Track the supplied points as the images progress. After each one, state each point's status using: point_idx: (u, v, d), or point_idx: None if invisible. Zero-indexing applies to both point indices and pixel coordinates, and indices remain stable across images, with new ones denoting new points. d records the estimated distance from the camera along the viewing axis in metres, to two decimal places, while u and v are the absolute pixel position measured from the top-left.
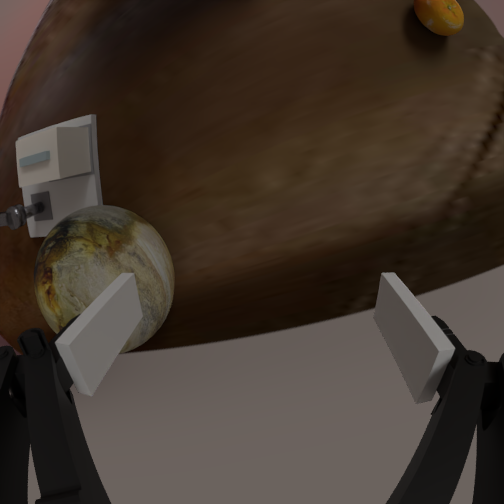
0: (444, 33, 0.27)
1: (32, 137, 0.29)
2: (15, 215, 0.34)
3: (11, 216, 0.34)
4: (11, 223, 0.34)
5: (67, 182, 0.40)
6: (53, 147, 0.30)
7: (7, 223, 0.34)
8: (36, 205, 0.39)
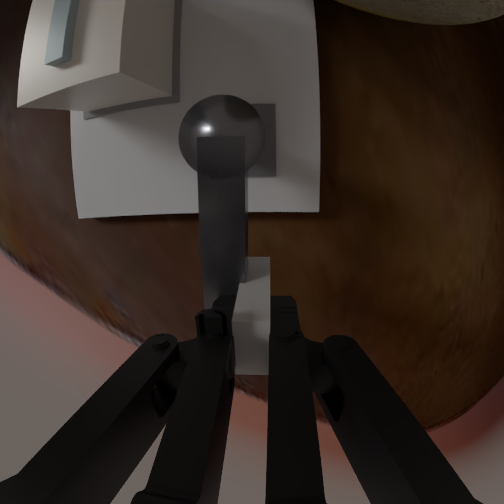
0: None
1: (26, 42, 0.09)
2: (211, 110, 0.11)
3: (212, 137, 0.11)
4: (239, 145, 0.11)
5: (189, 49, 0.17)
6: None
7: (238, 173, 0.12)
8: None
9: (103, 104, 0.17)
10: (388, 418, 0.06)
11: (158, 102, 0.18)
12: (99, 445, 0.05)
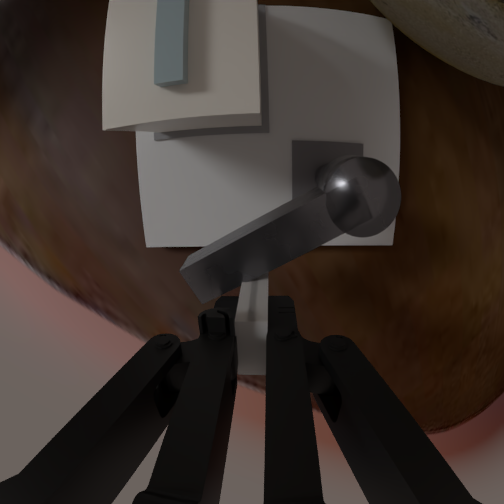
0: None
1: (110, 48, 0.10)
2: (382, 179, 0.12)
3: (361, 191, 0.12)
4: (364, 217, 0.12)
5: (277, 76, 0.17)
6: None
7: (340, 228, 0.13)
8: None
9: (186, 128, 0.17)
10: (386, 418, 0.06)
11: (246, 131, 0.18)
12: (101, 445, 0.05)
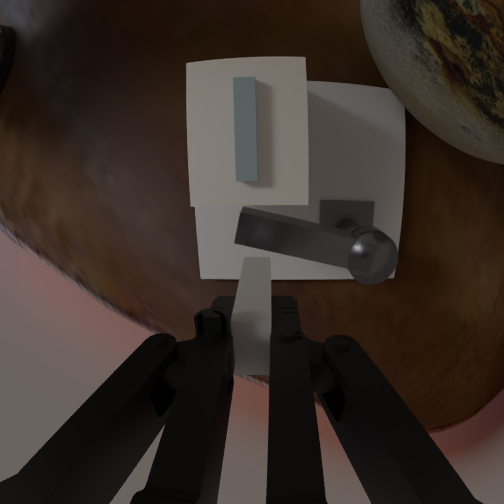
0: None
1: (192, 139, 0.16)
2: (390, 257, 0.18)
3: (374, 255, 0.18)
4: (364, 269, 0.18)
5: (310, 147, 0.23)
6: (229, 69, 0.15)
7: (348, 264, 0.18)
8: None
9: None
10: (389, 418, 0.06)
11: None
12: (98, 445, 0.05)
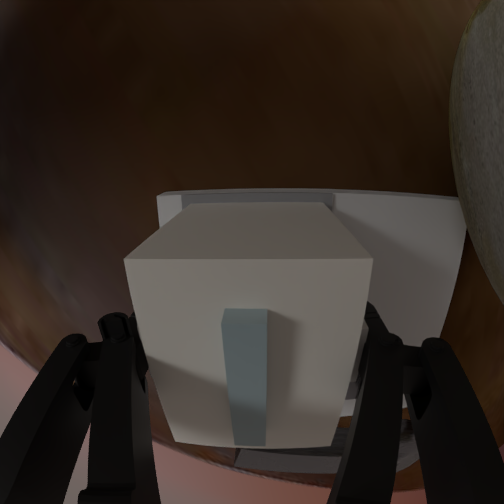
0: None
1: (163, 384, 0.10)
2: (413, 456, 0.12)
3: None
4: None
5: None
6: (211, 284, 0.08)
7: None
8: None
9: None
10: (466, 418, 0.05)
11: None
12: (39, 438, 0.05)
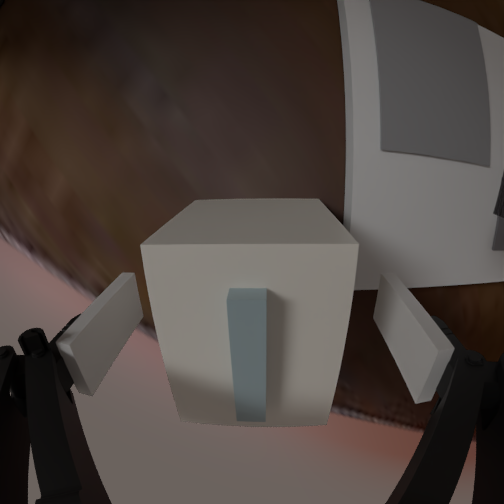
0: None
1: (171, 362, 0.11)
2: None
3: None
4: None
5: (494, 106, 0.12)
6: (218, 266, 0.09)
7: None
8: None
9: None
10: None
11: (474, 160, 0.13)
12: None
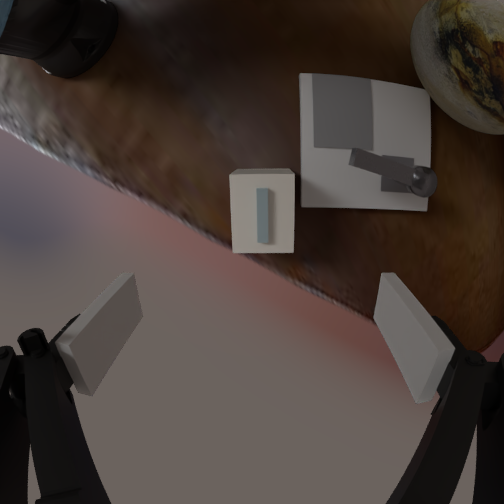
0: None
1: (234, 218, 0.33)
2: (433, 182, 0.28)
3: (425, 179, 0.28)
4: (420, 187, 0.29)
5: (376, 121, 0.34)
6: (253, 181, 0.31)
7: (412, 183, 0.29)
8: None
9: None
10: None
11: (361, 148, 0.35)
12: None
